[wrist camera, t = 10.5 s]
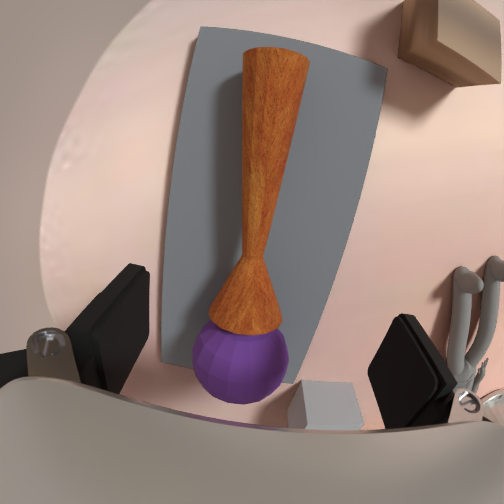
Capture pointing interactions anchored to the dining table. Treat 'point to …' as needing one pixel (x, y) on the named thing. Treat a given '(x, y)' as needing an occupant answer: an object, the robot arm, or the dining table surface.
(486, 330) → the alien figure
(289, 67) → the kendama
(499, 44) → the walnut block
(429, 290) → the dining table surface
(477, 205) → the dining table surface
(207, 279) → the charcoal mat
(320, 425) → the grey block
